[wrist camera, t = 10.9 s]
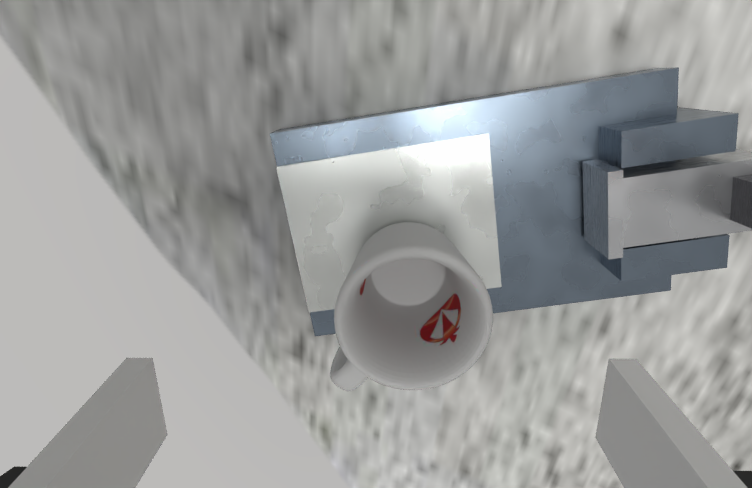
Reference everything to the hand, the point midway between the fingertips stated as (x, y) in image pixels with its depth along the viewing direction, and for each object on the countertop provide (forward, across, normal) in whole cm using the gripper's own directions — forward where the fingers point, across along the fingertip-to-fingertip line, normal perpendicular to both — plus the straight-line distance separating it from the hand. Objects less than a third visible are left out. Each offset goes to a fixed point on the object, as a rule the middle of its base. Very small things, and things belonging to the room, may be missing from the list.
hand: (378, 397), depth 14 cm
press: (+20, +7, 0) cm, 22 cm away
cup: (+18, +1, -4) cm, 18 cm away
